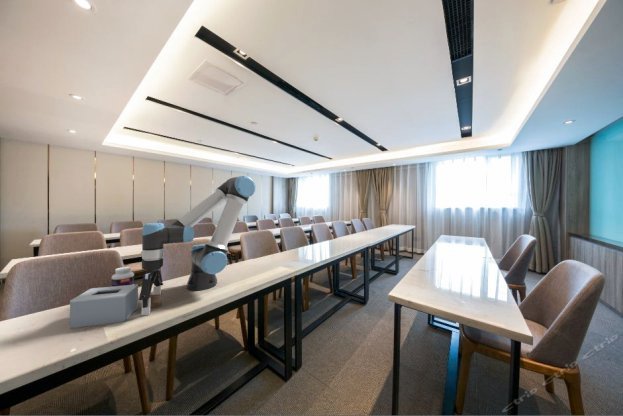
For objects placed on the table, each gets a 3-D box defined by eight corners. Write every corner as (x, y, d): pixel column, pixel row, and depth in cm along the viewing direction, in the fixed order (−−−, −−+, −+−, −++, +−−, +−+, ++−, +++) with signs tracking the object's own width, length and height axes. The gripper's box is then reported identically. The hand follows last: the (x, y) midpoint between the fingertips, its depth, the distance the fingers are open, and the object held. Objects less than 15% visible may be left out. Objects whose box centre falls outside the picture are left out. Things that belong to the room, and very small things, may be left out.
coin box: (137, 307, 94) (138, 284, 94) (124, 321, 83) (125, 295, 82) (90, 312, 88) (90, 288, 88) (69, 328, 77) (70, 300, 77)
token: (161, 305, 96) (161, 294, 96) (159, 307, 94) (159, 296, 94) (145, 307, 94) (145, 295, 94) (143, 309, 92) (143, 298, 92)
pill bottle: (120, 303, 97) (120, 271, 97) (106, 301, 99) (106, 270, 98) (138, 296, 105) (138, 266, 105) (124, 294, 106) (125, 265, 106)
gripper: (152, 253, 104) (151, 296, 104) (129, 267, 81) (128, 323, 81) (170, 252, 107) (169, 294, 107) (153, 265, 83) (151, 320, 83)
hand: (151, 307), depth 94 cm, fingers open, 13 cm apart
